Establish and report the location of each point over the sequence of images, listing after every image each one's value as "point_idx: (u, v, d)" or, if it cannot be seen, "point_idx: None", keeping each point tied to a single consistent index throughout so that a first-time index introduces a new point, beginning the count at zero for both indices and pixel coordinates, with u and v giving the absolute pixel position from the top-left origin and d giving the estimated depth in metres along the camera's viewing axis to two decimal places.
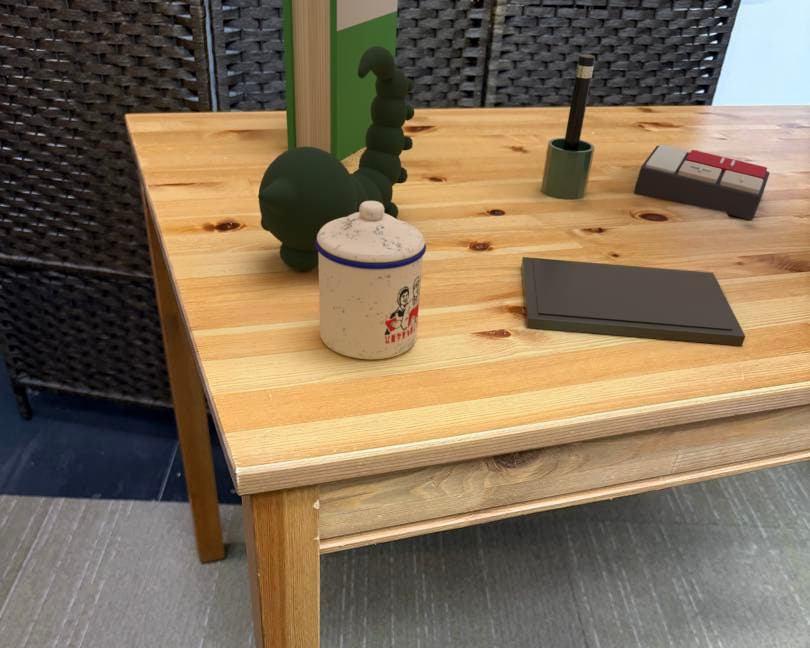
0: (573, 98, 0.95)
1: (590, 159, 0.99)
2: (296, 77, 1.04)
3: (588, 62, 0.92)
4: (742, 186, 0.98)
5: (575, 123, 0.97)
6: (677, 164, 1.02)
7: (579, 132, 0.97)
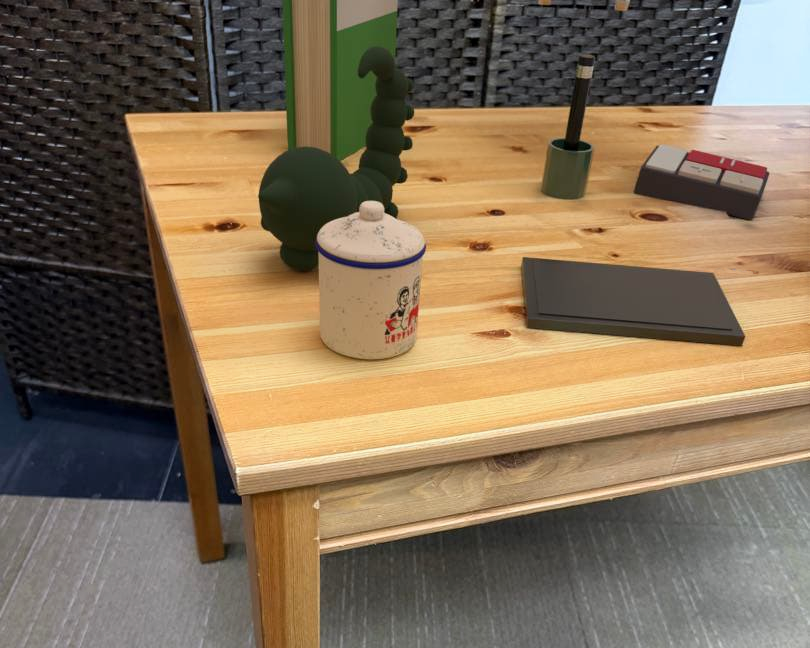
0: (573, 98, 0.95)
1: (590, 159, 0.99)
2: (296, 77, 1.04)
3: (588, 62, 0.92)
4: (742, 186, 0.98)
5: (575, 123, 0.97)
6: (677, 164, 1.02)
7: (579, 132, 0.97)
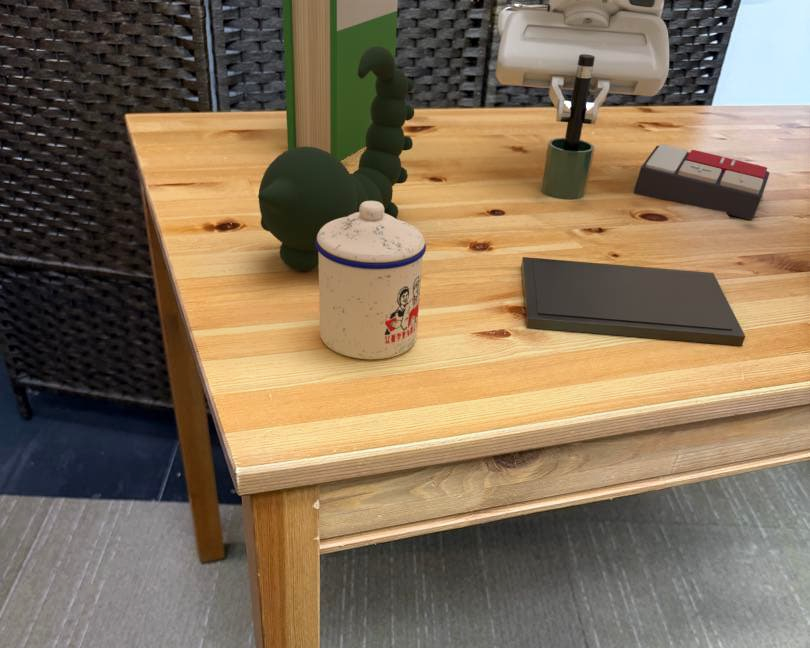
0: (573, 98, 0.95)
1: (590, 159, 0.99)
2: (296, 77, 1.04)
3: (588, 62, 0.92)
4: (742, 186, 0.98)
5: (575, 123, 0.97)
6: (677, 164, 1.02)
7: (579, 132, 0.97)
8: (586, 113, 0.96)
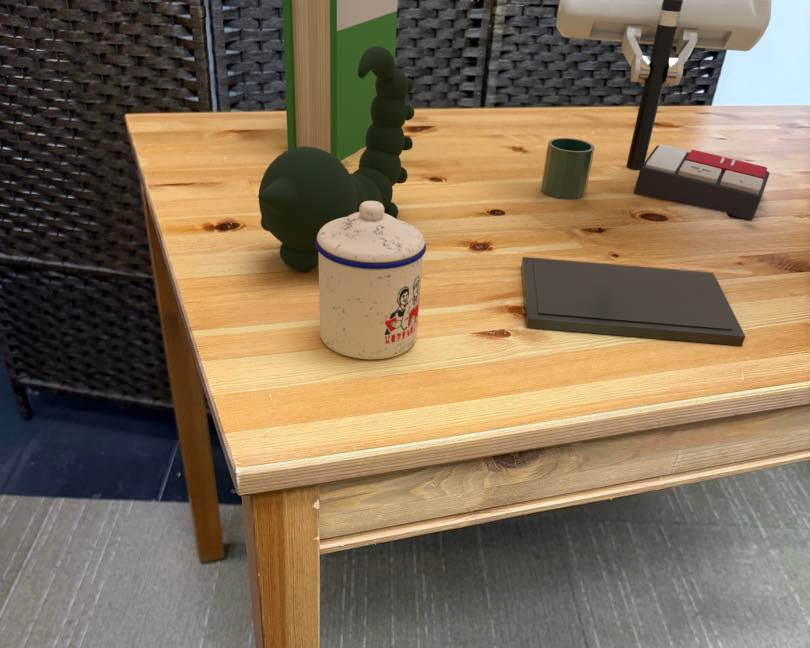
0: (653, 52, 0.78)
1: (590, 159, 0.99)
2: (296, 77, 1.04)
3: (674, 5, 0.75)
4: (742, 186, 0.98)
5: (655, 83, 0.79)
6: (677, 164, 1.02)
7: (659, 94, 0.80)
8: (669, 71, 0.78)
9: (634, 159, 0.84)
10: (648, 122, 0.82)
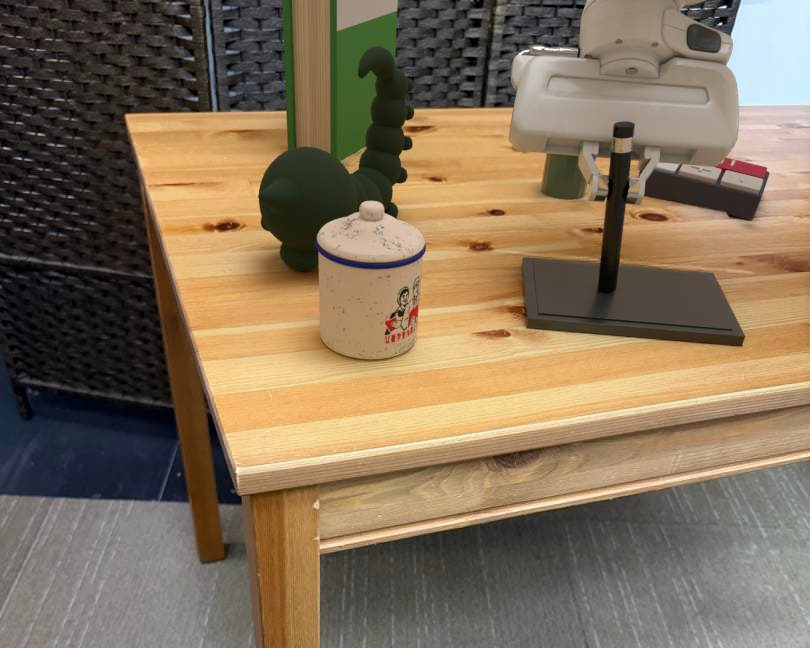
0: (610, 178, 0.73)
1: None
2: (296, 77, 1.04)
3: (625, 132, 0.70)
4: (742, 186, 0.98)
5: (615, 208, 0.74)
6: (677, 164, 1.02)
7: (622, 218, 0.75)
8: (629, 191, 0.73)
9: (604, 283, 0.79)
10: (614, 246, 0.76)
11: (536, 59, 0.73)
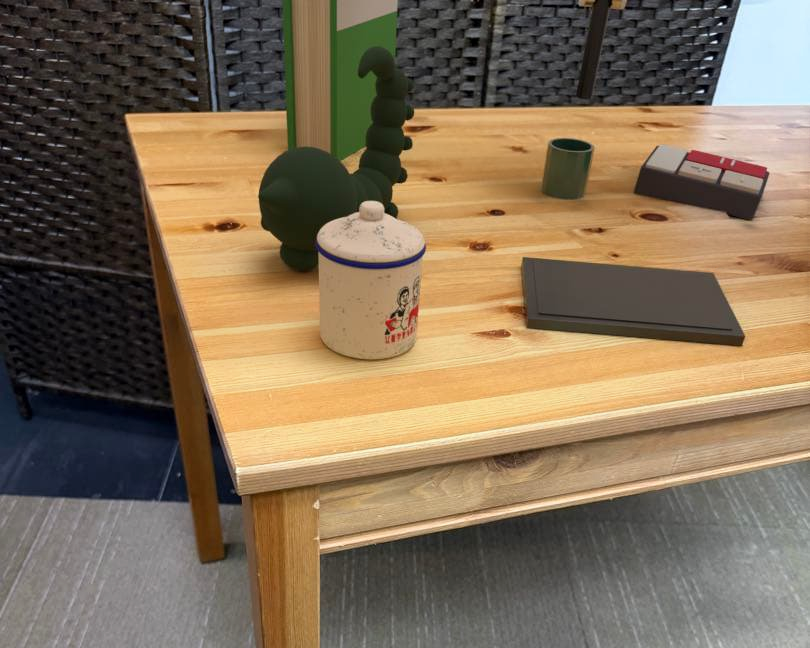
0: None
1: (590, 159, 0.99)
2: (296, 77, 1.04)
3: None
4: (742, 186, 0.98)
5: (600, 12, 0.84)
6: (677, 164, 1.02)
7: (604, 24, 0.85)
8: None
9: (582, 89, 0.89)
10: (595, 51, 0.86)
11: None
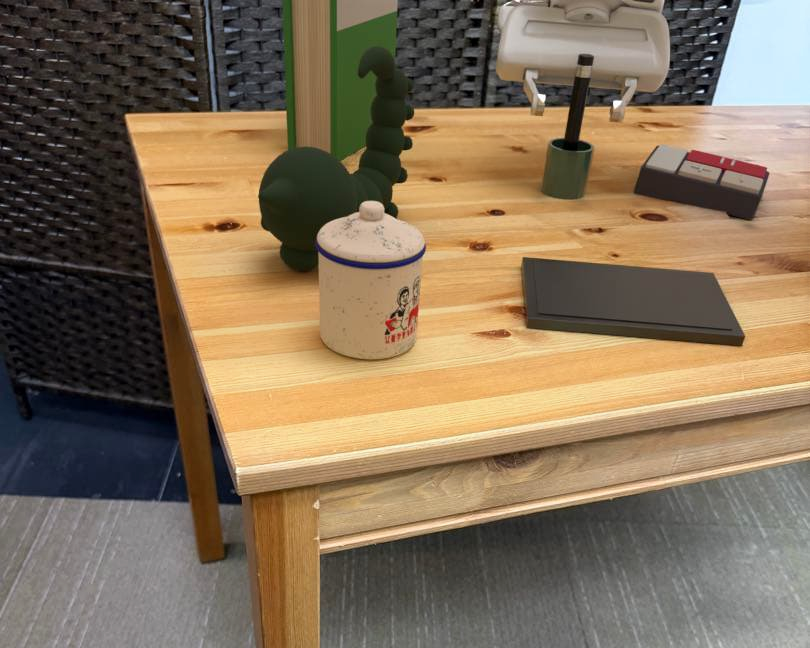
0: (572, 97, 0.96)
1: (590, 159, 0.99)
2: (296, 77, 1.04)
3: (587, 61, 0.93)
4: (742, 186, 0.98)
5: (574, 122, 0.97)
6: (677, 164, 1.02)
7: (578, 131, 0.98)
8: (613, 111, 0.95)
9: None
10: None
11: (516, 8, 0.95)
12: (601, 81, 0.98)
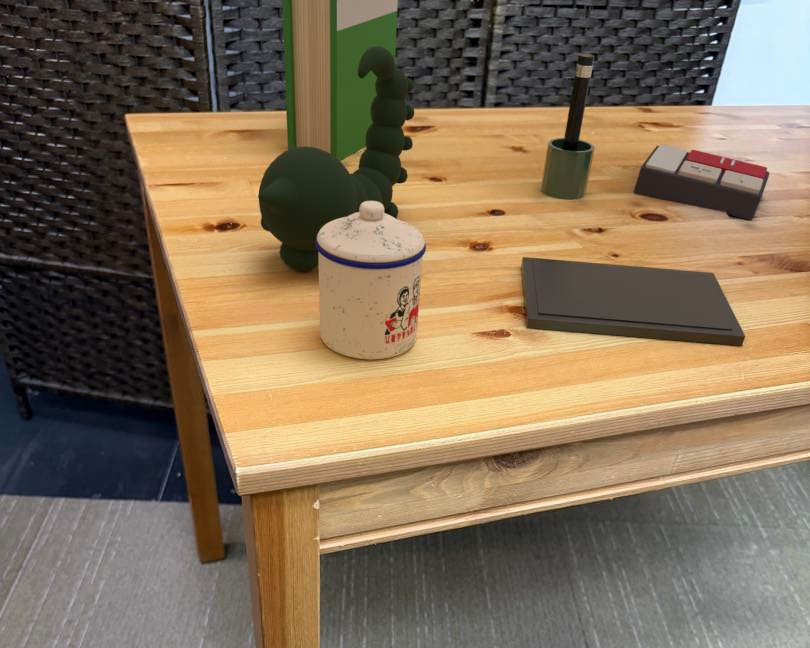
0: (572, 97, 0.96)
1: (590, 159, 0.99)
2: (296, 77, 1.04)
3: (587, 61, 0.93)
4: (742, 186, 0.98)
5: (574, 122, 0.97)
6: (677, 164, 1.02)
7: (578, 131, 0.98)
8: None
9: None
10: None
11: None
12: None
